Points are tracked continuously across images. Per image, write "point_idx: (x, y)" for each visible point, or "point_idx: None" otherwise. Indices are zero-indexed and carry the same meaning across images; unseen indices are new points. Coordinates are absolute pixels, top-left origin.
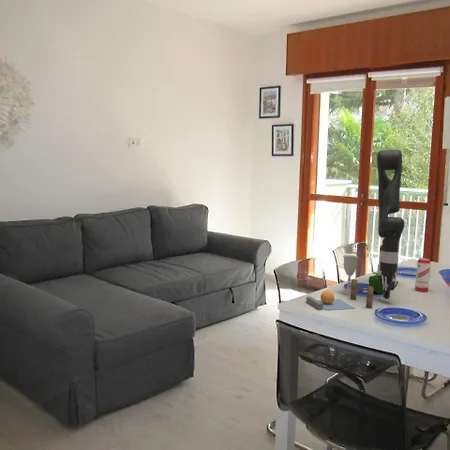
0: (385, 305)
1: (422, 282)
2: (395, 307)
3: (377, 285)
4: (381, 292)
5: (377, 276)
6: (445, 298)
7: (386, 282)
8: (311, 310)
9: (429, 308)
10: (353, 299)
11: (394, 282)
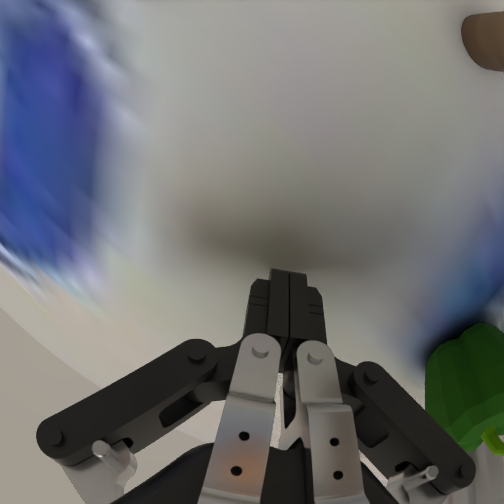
0: (174, 169)
1: None
2: (108, 213)
3: (466, 381)
4: (430, 359)
5: (492, 437)
6: None
7: (213, 451)
8: None
9: (97, 357)
10: (467, 19)
11: (42, 440)
